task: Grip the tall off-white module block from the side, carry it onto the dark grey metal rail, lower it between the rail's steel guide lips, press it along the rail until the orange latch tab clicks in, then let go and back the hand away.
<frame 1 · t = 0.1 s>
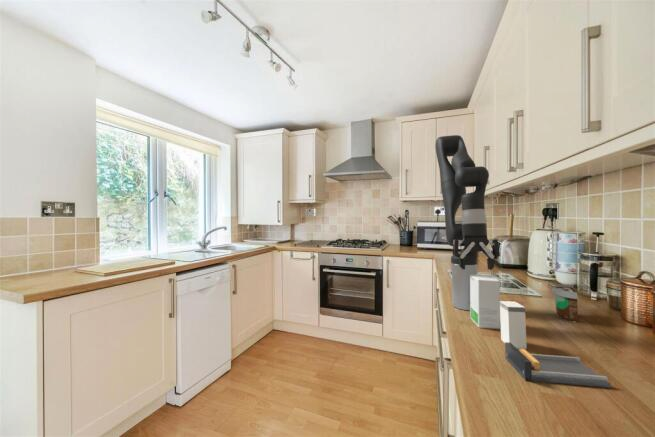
hand: (476, 269, 89), 17 cm above the countertop, tool pointing down, fingers open, 8 cm apart
skincare box: (485, 324, 85), on the countertop
module block: (513, 344, 71), on the countertop
metal rail: (552, 371, 58), on the countertop
food container: (564, 316, 90), on the countertop
latch tab: (529, 359, 59), point 2 cm above the countertop, slide at 0.0 cm
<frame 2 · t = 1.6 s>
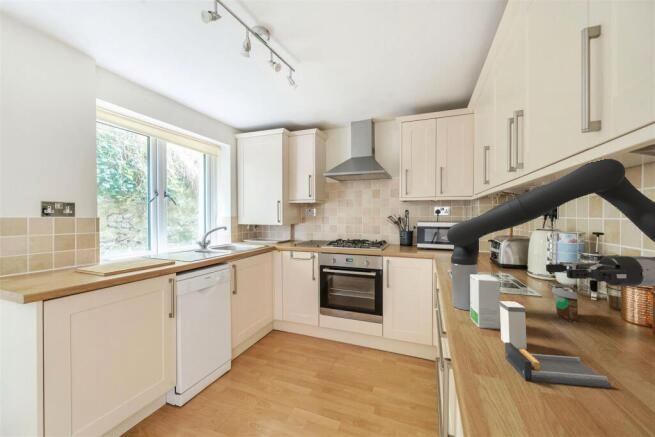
hand: (556, 270, 69), 20 cm above the countertop, tool horizontal, fingers open, 8 cm apart
nothing on the countertop moved.
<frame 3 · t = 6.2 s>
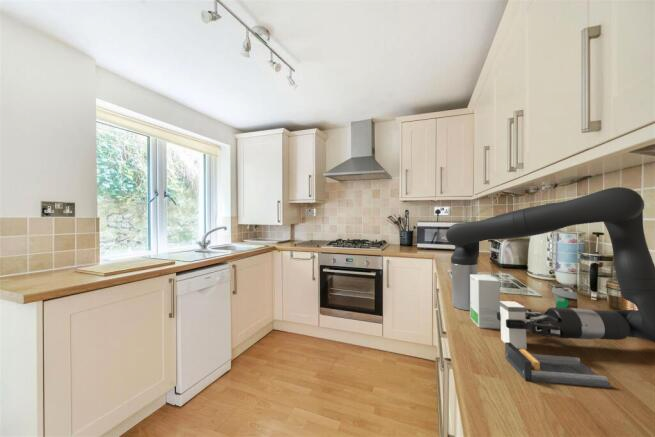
hand: (502, 319, 71), 7 cm above the countertop, tool horizontal, fingers closed on module block, 5 cm apart
module block: (513, 344, 71), on the countertop, touching gripper
everything else where it was.
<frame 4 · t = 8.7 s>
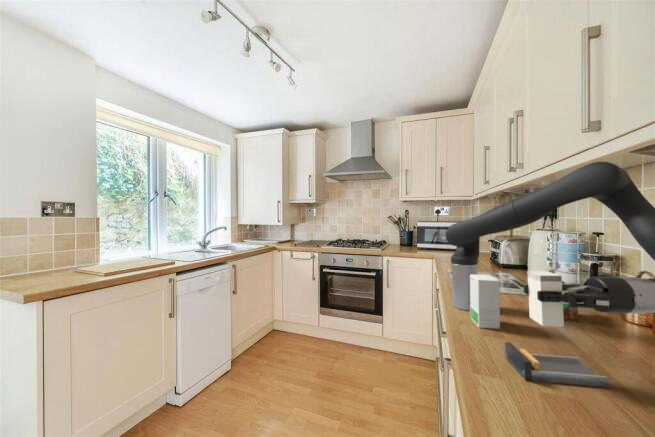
hand: (531, 292, 59), 18 cm above the countertop, tool horizontal, fingers closed on module block, 5 cm apart
module block: (545, 321, 58), point 11 cm above the countertop, touching gripper
everything else where it was.
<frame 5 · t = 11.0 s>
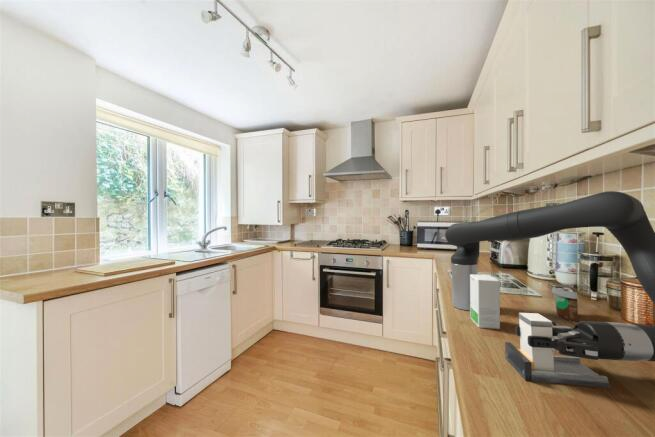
hand: (522, 335, 59), 8 cm above the countertop, tool horizontal, fingers closed on module block, 4 cm apart
module block: (536, 365, 58), point 1 cm above the countertop, touching gripper, latch tab
latch tab: (524, 359, 59), point 2 cm above the countertop, slide at 1.0 cm, touching module block
everything else where it was.
when the fingers open (8 cm above the countertop, at t = 11.3 s): module block stays where it is, resting on metal rail.
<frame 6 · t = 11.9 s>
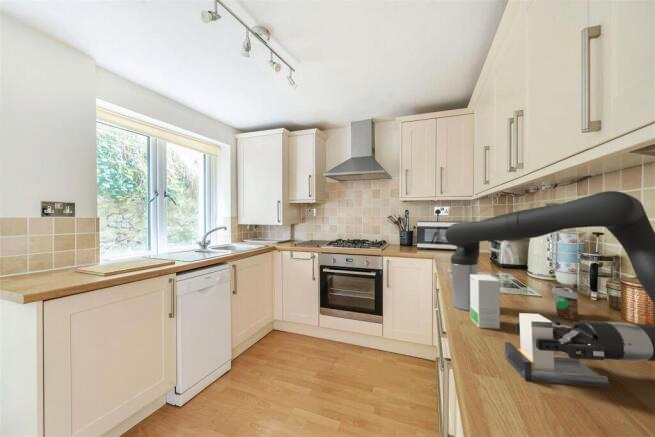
hand: (525, 335, 59), 8 cm above the countertop, tool horizontal, fingers open, 8 cm apart
module block: (536, 365, 58), point 1 cm above the countertop, touching metal rail
latch tab: (524, 359, 59), point 2 cm above the countertop, slide at 1.0 cm
everything else where it was.
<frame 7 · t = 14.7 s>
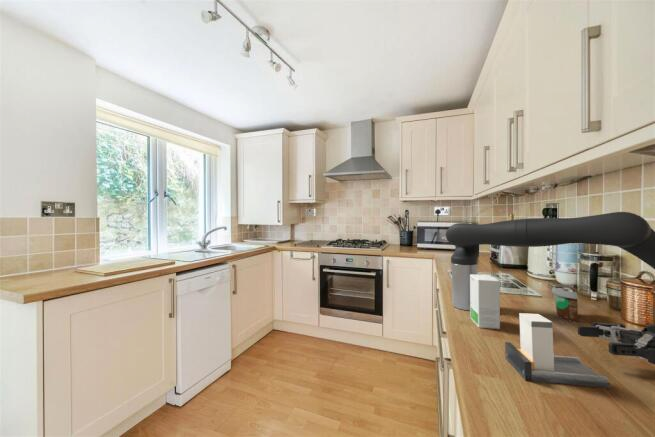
hand: (593, 339, 56), 8 cm above the countertop, tool horizontal, fingers open, 8 cm apart
nothing on the countertop moved.
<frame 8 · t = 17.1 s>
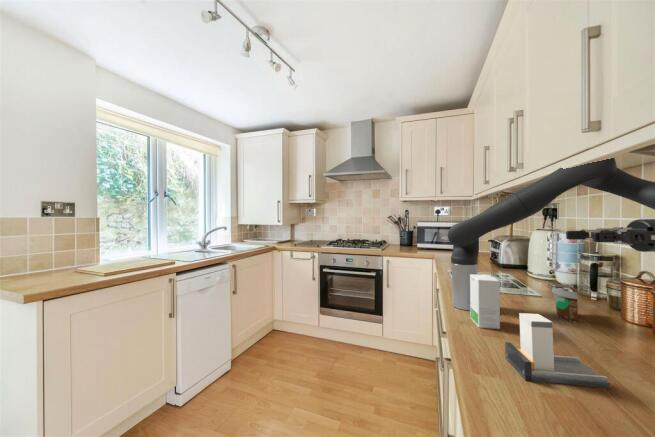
hand: (579, 236, 62), 30 cm above the countertop, tool horizontal, fingers open, 8 cm apart
nothing on the countertop moved.
at the end: latch tab slide at 1.0 cm; module block 0.1 cm from the target spot, point 1.0 cm above the countertop; module block tilted 0° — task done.
